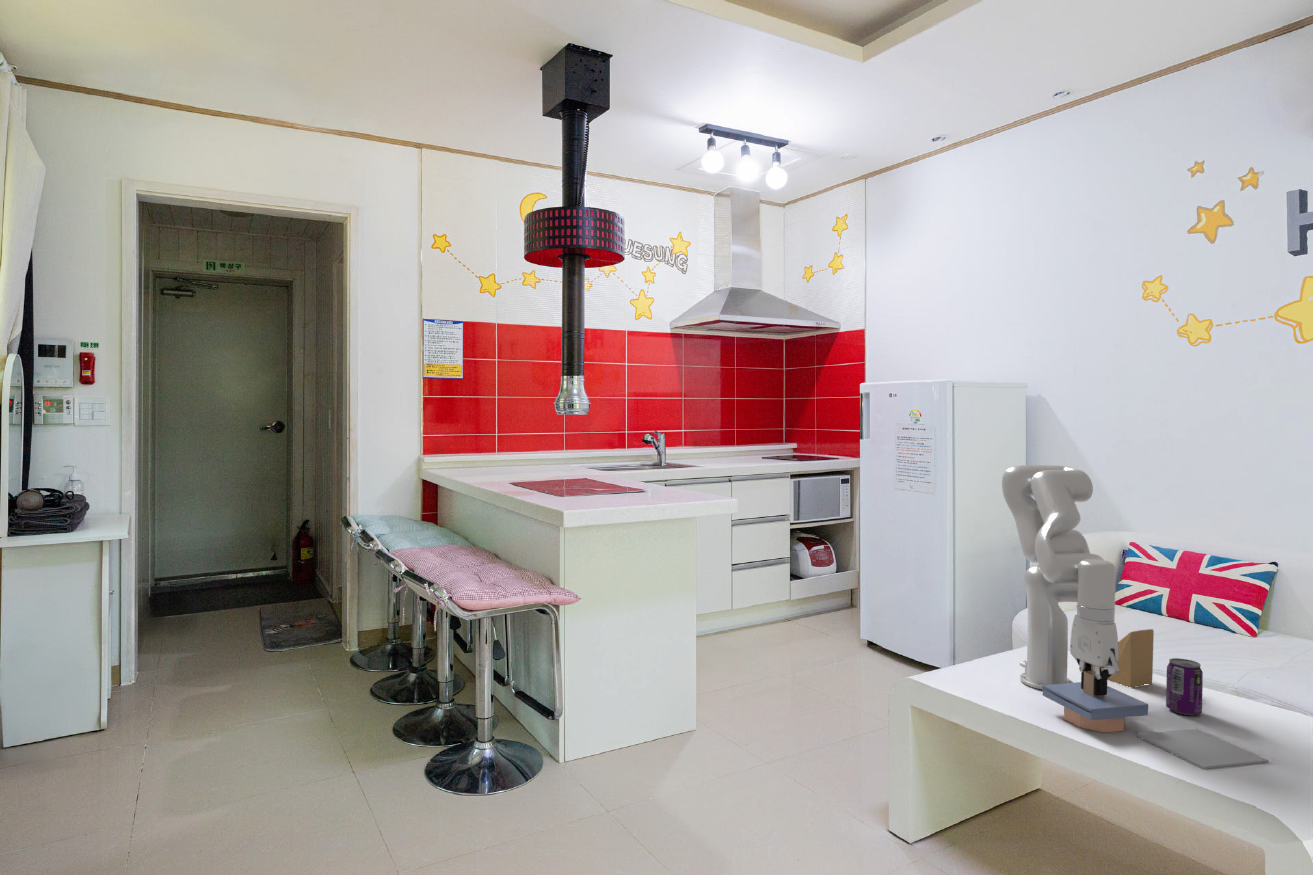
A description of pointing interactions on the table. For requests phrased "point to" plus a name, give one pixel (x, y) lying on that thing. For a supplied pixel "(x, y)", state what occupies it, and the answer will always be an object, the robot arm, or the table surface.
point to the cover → (1094, 700)
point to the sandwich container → (1134, 659)
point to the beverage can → (1184, 686)
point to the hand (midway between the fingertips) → (1093, 691)
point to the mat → (1202, 748)
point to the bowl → (1094, 722)
